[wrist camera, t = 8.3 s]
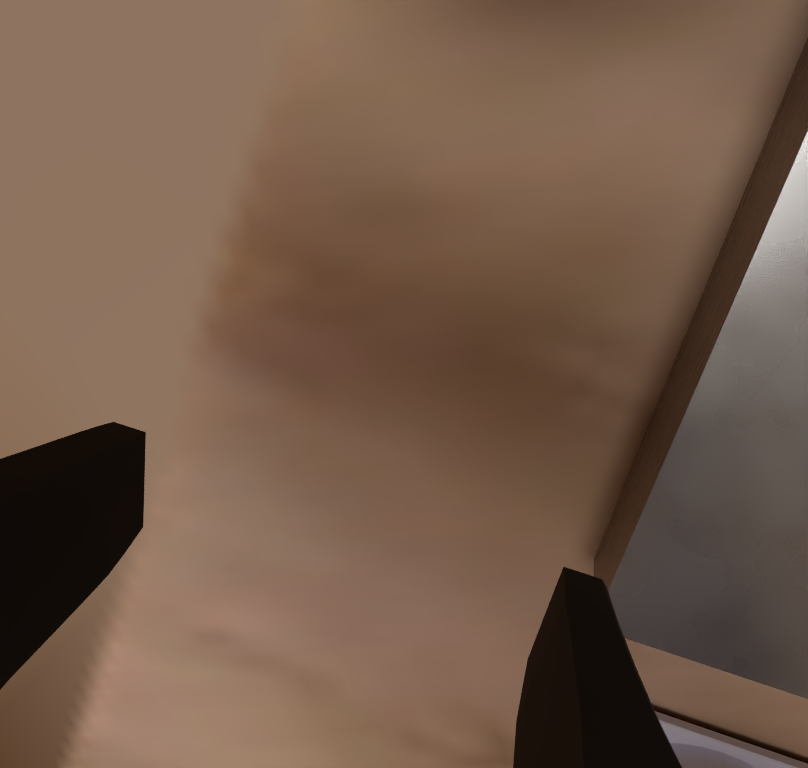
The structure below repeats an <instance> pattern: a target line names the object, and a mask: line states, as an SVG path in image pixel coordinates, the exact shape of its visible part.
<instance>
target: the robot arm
mask: <svg viewBox="0 0 808 768" xmlns="http://www.w3.org/2000/svg"><path fill="white" fill-rule="evenodd" d="M145 434H146V433H145V432H143V431H140V430H137V429H134V428H131V427H127V426H124V425H121V424H118V423H115V422H112V423H108V424H104V425H101V426H97V427H94V428H91V429H88V430H85V431H81V432H78V433H76V434H72V435H70V436H67V437H64V438H61V439H58V440H55V441H52V442H49V443H46V444H43V445H40V446H38V447H34V448H31V449H29V450H26V451H23V452H20V453H17V454H14V455H11V456H8V457H5V458H2V459H0V689H1V688H2V687H3V686H4V685H5V684H6V682H7V681H8V680H9V679H10V678H11V677H12V676H13V675H14V674H15V673H16V672H17V671H18V669H19V668H20V667H21V666H22V665H23V664H24V663H25V662H26V661H27V660H28V659H29V658H30V657H31V656H32V655H33V654H34V653H35V652H36V651H37V650H38V648H40V647H41V646H42V644H43V643H44V642H45V641H46V640H47V639H48V638H49V637H50V636H51V635H52V634H53V633H54V632H55V631H56V630H57V629H58V628H59V627H60V626H61V625H62V624H63V623H64V621H65V620H66V619H67V618H68V617H69V616H70V615H71V614H72V613H73V612H74V611H75V610H76V609H77V608H78V607H79V606H80V605H81V604H82V603H83V601H84V600H85V599H86V598H87V597H88V596H89V595H90V594H91V593H92V592H93V591H94V590H95V589H96V588H97V586H98V585H99V584H100V583H101V582H102V581H103V580H104V579H105V578H106V577H107V576H108V575H109V573H110V572H111V571H112V569H113V568H114V567H115V565H116V564H117V563H118V561H119V560H120V559H121V557H122V556H123V555H124V553H125V552H126V550H127V549H128V548H129V546H130V545H131V543H132V542H133V540H134V539H135V538H136V536H137V535H138V533H139V532H140V530H141V529H142V528H143V510H144V473H145ZM513 768H808V764H807V763H804V762H801V761H798V760H795V759H793V758H790V757H787V756H784V755H781V754H778V753H775V752H772V751H769V750H766V749H763V748H761V747H758V746H755V745H752V744H749V743H746V742H743V741H740V740H737V739H734V738H732V737H729V736H726V735H723V734H720V733H717V732H714V731H711V730H708V729H705V728H703V727H700V726H697V725H694V724H691V723H688V722H685V721H682V720H679V719H676V718H674V717H671V716H668V715H665V714H662V713H659V712H656V711H654V708H653V706H652V704H651V702H650V699H649V697H648V695H647V692H646V690H645V688H644V685H643V683H642V681H641V678H640V676H639V674H638V671H637V669H636V667H635V664H634V662H633V659H632V657H631V654H630V652H629V649H628V646H627V644H626V641H625V638H624V636H623V633H622V630H621V627H620V625H619V622H618V619H617V616H616V613H615V610H614V608H613V605H612V602H611V599H610V595H609V592H608V589H607V587H606V585H605V583H604V581H603V579H600V578H596V577H593V576H590V575H587V574H584V573H581V572H578V571H575V570H572V569H569V568H565V567H563V569H562V572H561V575H560V577H559V580H558V582H557V585H556V588H555V590H554V593H553V595H552V598H551V601H550V603H549V606H548V608H547V611H546V613H545V616H544V619H543V621H542V624H541V626H540V629H539V632H538V634H537V637H536V639H535V642H534V644H533V647H532V650H531V652H530V655H529V657H528V661H527V667H526V672H525V677H524V682H523V688H522V693H521V699H520V704H519V710H518V716H517V723H516V736H515V750H514V764H513Z"/></svg>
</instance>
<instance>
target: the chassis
mask: <svg viewBox="0 0 808 768" xmlns="http://www.w3.org/2000/svg"><path fill="white" fill-rule="evenodd" d="M594 577H596V578H600V579H603V581H604V583H605V585H606V587H607V589H608V592H609V595H610V599H611V602H612V605H613V608H614V610H615V613H616V616H617V619H618V622H619V625H620V627H621V630H622V633H623V636H624V638H627V639H630V640H633V641H636V642H639V643H642V644H645V645H648V646H651V647H654V648H657V649H660V650H663V651H666V652H669V653H672V654H675V655H678V656H681V657H684V658H687V659H690V660H693V661H696V662H699V663H702V664H705V665H708V666H711V667H714V668H717V669H720V670H723V671H726V672H729V673H732V674H735V675H738V676H741V677H744V678H747V679H750V680H753V681H756V682H759V683H762V684H765V685H768V686H771V687H774V688H777V689H780V690H783V691H786V692H789V693H792V694H795V695H798V696H801V697H804V698H807V699H808V40H807V42H806V45H805V47H804V49H803V52H802V54H801V57H800V59H799V62H798V64H797V66H796V69H795V71H794V74H793V76H792V79H791V81H790V84H789V86H788V88H787V91H786V93H785V96H784V98H783V101H782V103H781V105H780V108H779V110H778V113H777V115H776V118H775V120H774V123H773V125H772V127H771V130H770V132H769V135H768V137H767V140H766V142H765V144H764V147H763V149H762V152H761V154H760V157H759V159H758V161H757V164H756V166H755V169H754V171H753V174H752V176H751V179H750V181H749V183H748V186H747V188H746V191H745V193H744V196H743V198H742V200H741V203H740V205H739V208H738V210H737V213H736V215H735V218H734V220H733V222H732V225H731V227H730V230H729V232H728V235H727V237H726V239H725V242H724V244H723V247H722V249H721V252H720V254H719V257H718V259H717V261H716V264H715V266H714V269H713V271H712V274H711V276H710V278H709V281H708V283H707V286H706V288H705V291H704V293H703V295H702V298H701V300H700V303H699V305H698V308H697V310H696V313H695V315H694V317H693V320H692V322H691V325H690V327H689V330H688V332H687V334H686V337H685V339H684V342H683V344H682V347H681V349H680V352H679V354H678V356H677V359H676V361H675V364H674V366H673V369H672V371H671V373H670V376H669V378H668V381H667V383H666V386H665V388H664V390H663V393H662V395H661V398H660V400H659V403H658V405H657V408H656V410H655V412H654V415H653V417H652V420H651V422H650V425H649V427H648V429H647V432H646V434H645V437H644V439H643V442H642V444H641V447H640V449H639V451H638V454H637V456H636V459H635V461H634V464H633V466H632V468H631V471H630V473H629V476H628V478H627V481H626V483H625V486H624V488H623V490H622V493H621V495H620V498H619V500H618V503H617V505H616V507H615V510H614V512H613V515H612V517H611V520H610V522H609V524H608V527H607V529H606V532H605V534H604V537H603V539H602V542H601V544H600V546H599V549H598V551H597V554H596V556H595V559H594Z"/></svg>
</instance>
